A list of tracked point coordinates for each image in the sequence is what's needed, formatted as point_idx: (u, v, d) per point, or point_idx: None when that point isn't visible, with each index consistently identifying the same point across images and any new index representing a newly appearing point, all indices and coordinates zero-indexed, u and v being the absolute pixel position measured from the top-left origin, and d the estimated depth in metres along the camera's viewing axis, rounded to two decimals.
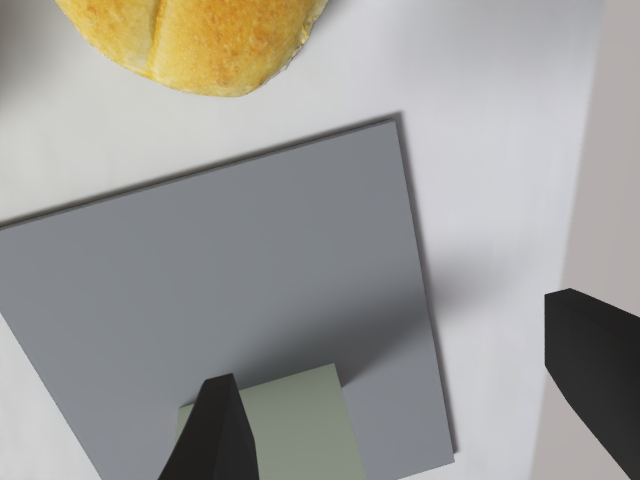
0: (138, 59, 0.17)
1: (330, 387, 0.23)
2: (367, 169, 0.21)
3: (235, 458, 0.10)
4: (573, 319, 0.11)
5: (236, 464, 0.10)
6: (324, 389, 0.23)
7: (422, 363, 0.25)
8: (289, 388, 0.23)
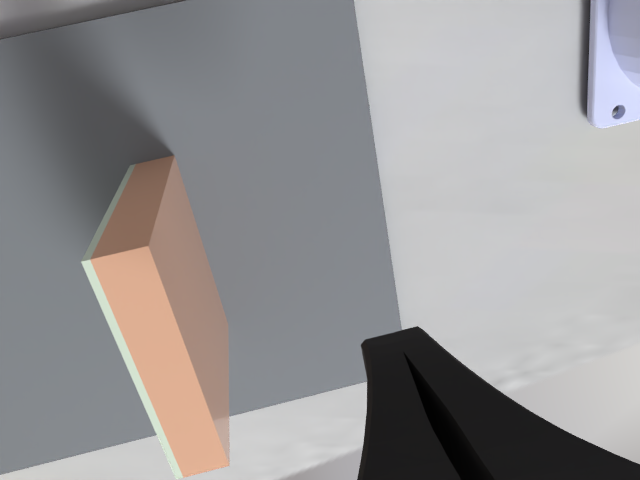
0: None
1: None
2: None
3: None
4: (406, 361, 0.11)
5: None
6: None
7: (134, 36, 0.17)
8: None
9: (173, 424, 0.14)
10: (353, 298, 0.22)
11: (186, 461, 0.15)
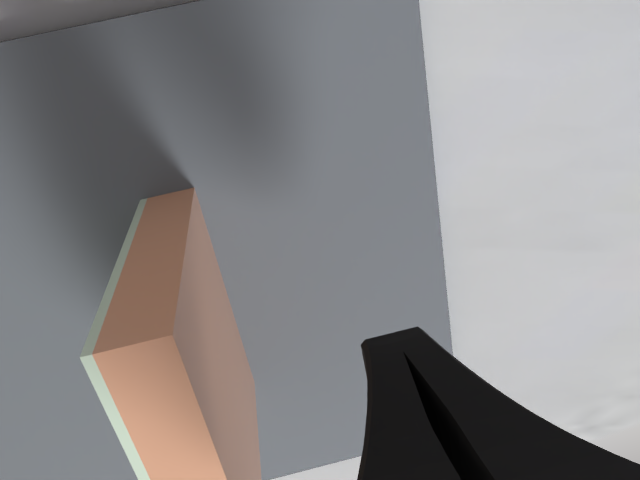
0: None
1: None
2: None
3: None
4: (406, 361, 0.11)
5: None
6: None
7: (146, 42, 0.13)
8: None
9: None
10: None
11: None
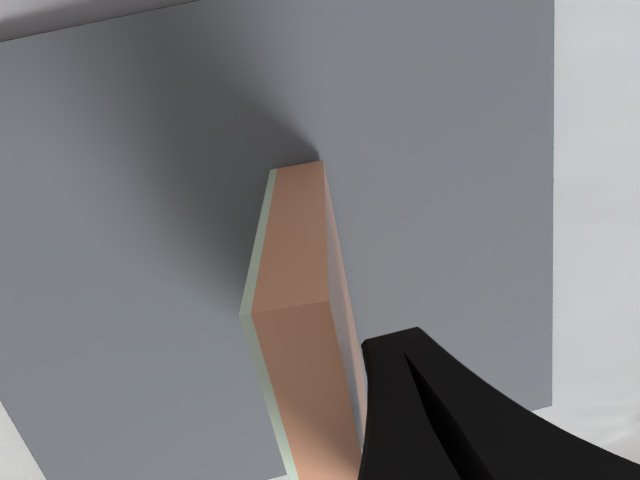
0: None
1: None
2: None
3: None
4: (406, 361, 0.11)
5: None
6: None
7: (292, 11, 0.14)
8: None
9: None
10: (503, 324, 0.19)
11: None
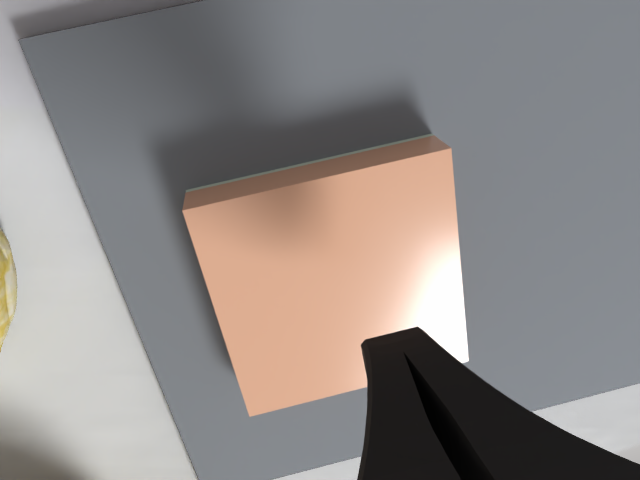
0: None
1: None
2: (102, 83, 0.14)
3: None
4: (406, 361, 0.11)
5: None
6: None
7: None
8: None
9: None
10: (634, 291, 0.19)
11: None
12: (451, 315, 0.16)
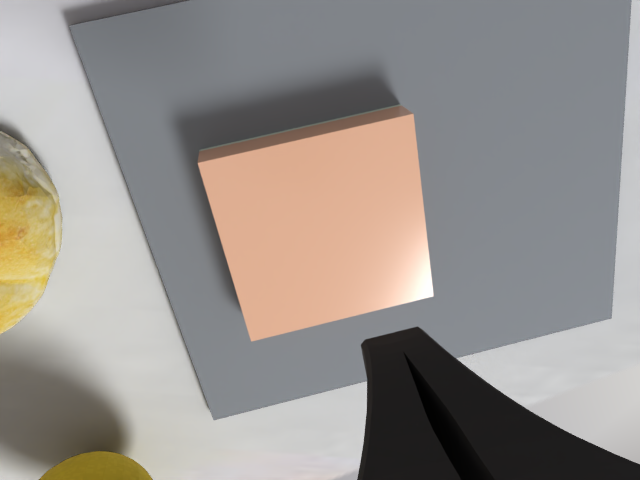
0: (22, 291, 0.18)
1: None
2: (134, 61, 0.17)
3: None
4: (406, 361, 0.11)
5: None
6: None
7: None
8: None
9: None
10: (576, 242, 0.23)
11: None
12: (417, 255, 0.20)
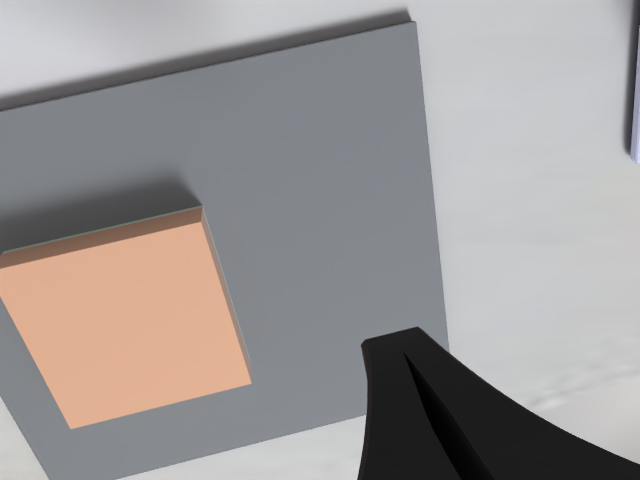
0: None
1: None
2: None
3: None
4: (406, 361, 0.11)
5: None
6: None
7: (215, 87, 0.18)
8: None
9: None
10: (405, 324, 0.23)
11: None
12: (228, 348, 0.20)
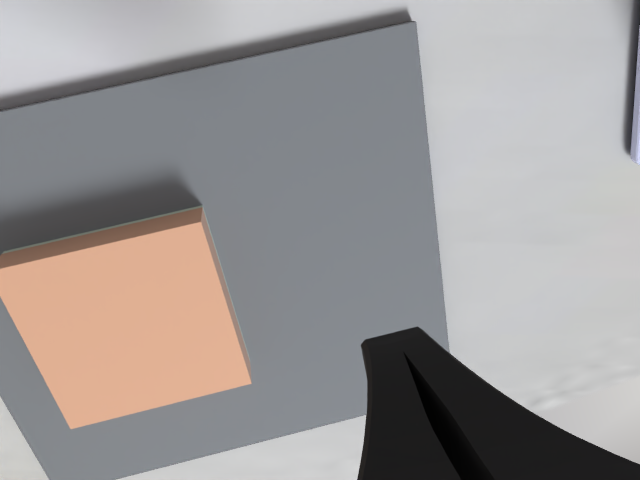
0: None
1: None
2: None
3: None
4: (406, 361, 0.11)
5: None
6: None
7: (215, 87, 0.18)
8: None
9: None
10: (405, 324, 0.23)
11: None
12: (228, 348, 0.20)
